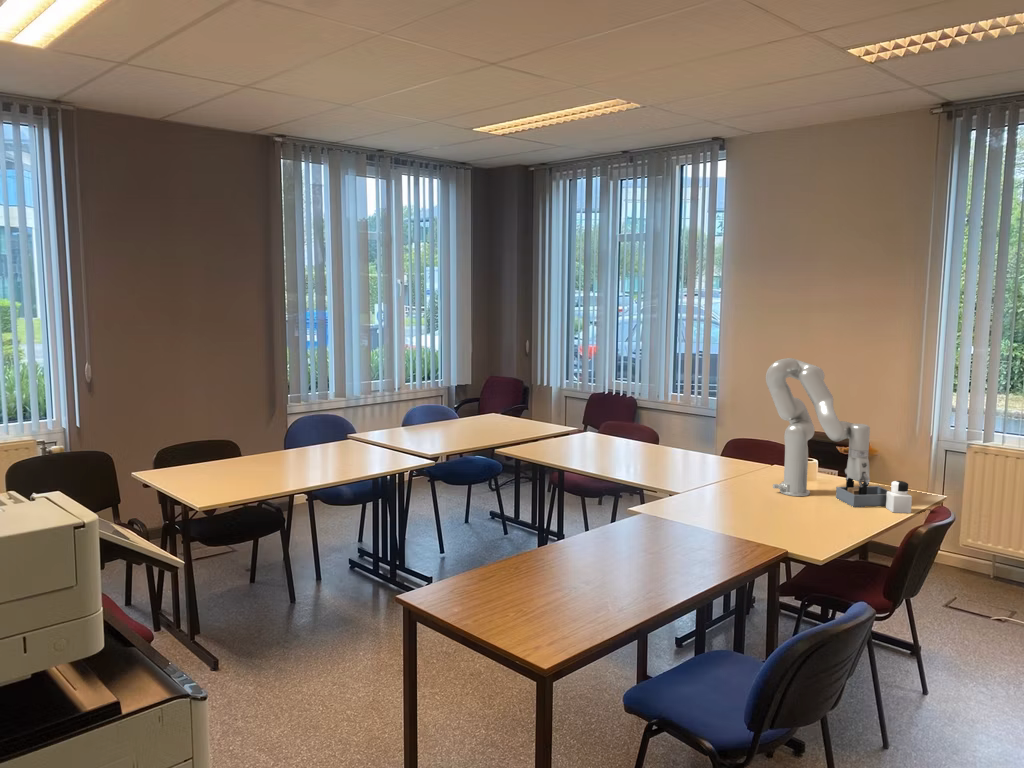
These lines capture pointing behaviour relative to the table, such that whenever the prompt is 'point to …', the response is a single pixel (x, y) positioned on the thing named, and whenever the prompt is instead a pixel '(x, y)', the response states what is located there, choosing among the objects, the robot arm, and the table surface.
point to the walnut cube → (854, 490)
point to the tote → (863, 497)
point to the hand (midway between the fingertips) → (855, 493)
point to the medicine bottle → (899, 498)
